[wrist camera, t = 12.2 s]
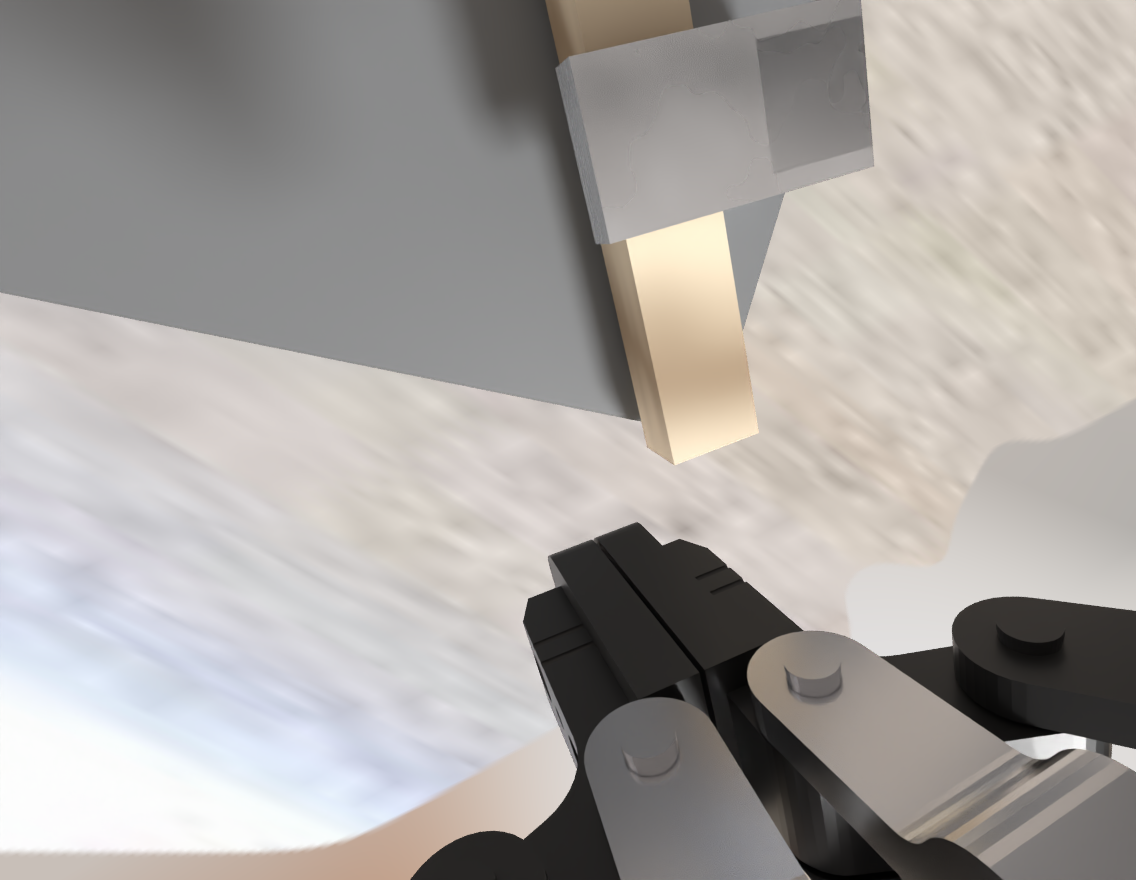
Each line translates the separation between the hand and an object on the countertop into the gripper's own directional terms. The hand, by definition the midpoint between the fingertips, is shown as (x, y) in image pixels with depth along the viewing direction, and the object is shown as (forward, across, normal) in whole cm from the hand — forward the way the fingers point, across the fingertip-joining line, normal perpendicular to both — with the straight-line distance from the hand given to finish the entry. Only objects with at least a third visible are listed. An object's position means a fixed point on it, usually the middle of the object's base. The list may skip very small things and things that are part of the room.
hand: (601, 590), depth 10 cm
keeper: (+11, -7, -7) cm, 15 cm away
